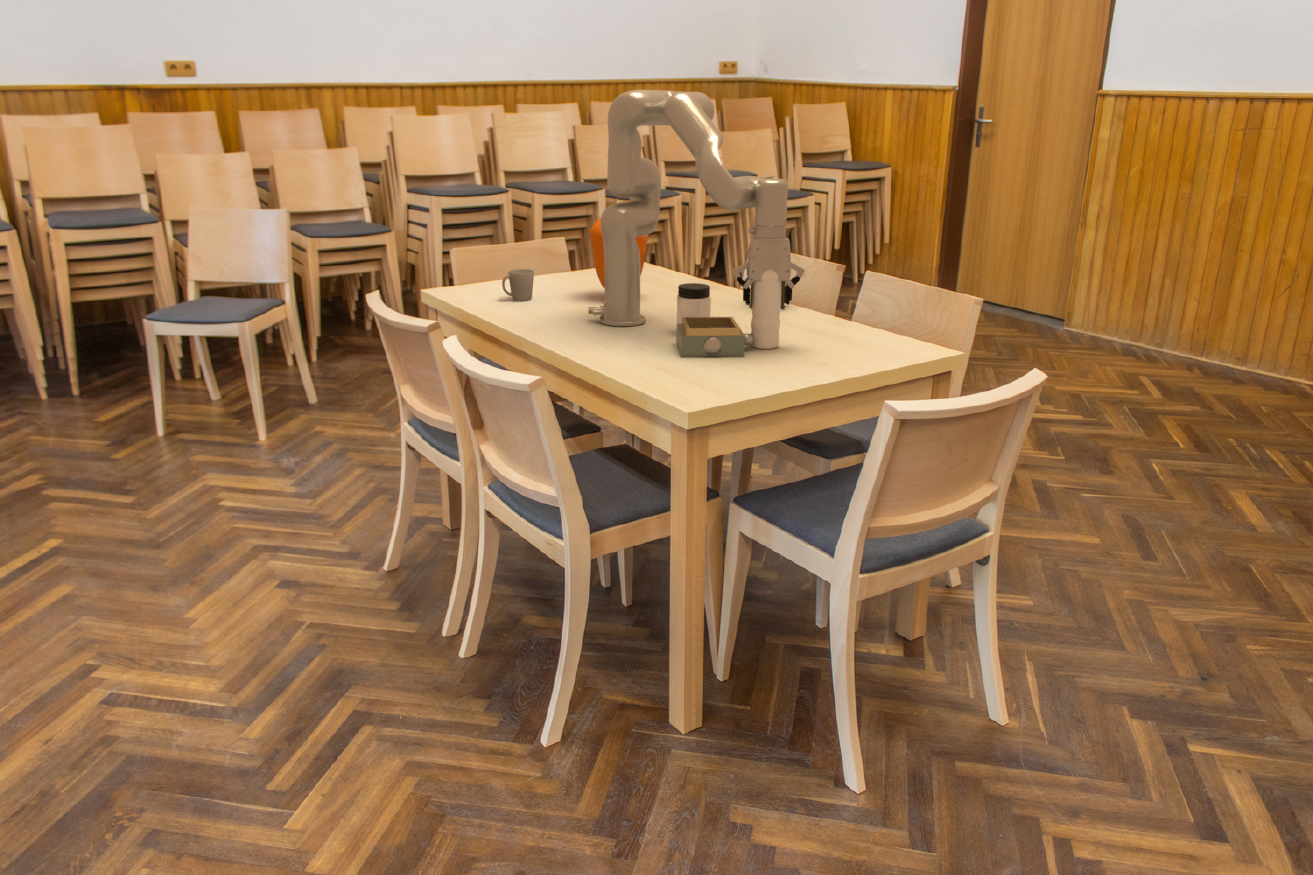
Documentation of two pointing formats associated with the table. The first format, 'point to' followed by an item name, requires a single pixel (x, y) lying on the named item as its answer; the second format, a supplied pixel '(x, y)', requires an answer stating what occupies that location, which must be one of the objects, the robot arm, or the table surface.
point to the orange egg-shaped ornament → (599, 250)
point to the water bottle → (766, 311)
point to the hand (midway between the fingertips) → (767, 303)
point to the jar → (693, 301)
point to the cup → (520, 284)
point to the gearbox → (711, 337)
